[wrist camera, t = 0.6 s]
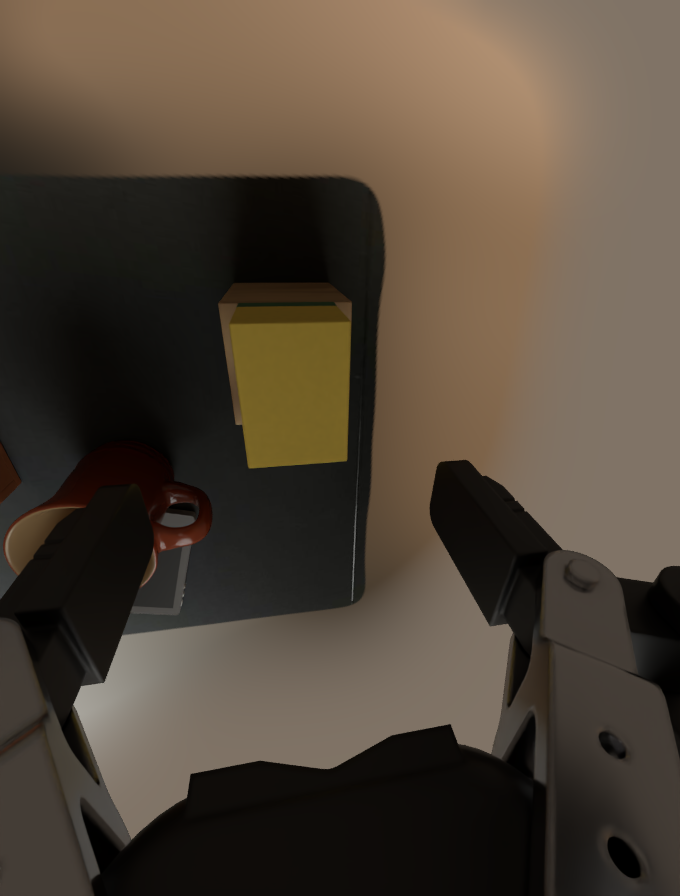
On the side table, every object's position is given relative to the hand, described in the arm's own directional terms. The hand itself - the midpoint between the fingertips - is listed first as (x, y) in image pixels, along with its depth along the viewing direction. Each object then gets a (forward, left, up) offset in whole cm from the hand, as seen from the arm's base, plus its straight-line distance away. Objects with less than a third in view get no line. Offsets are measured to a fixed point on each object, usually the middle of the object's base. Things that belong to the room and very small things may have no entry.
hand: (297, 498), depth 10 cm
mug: (+14, -10, -22) cm, 28 cm away
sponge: (0, 0, -13) cm, 13 cm away
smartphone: (+26, -11, -22) cm, 35 cm away
